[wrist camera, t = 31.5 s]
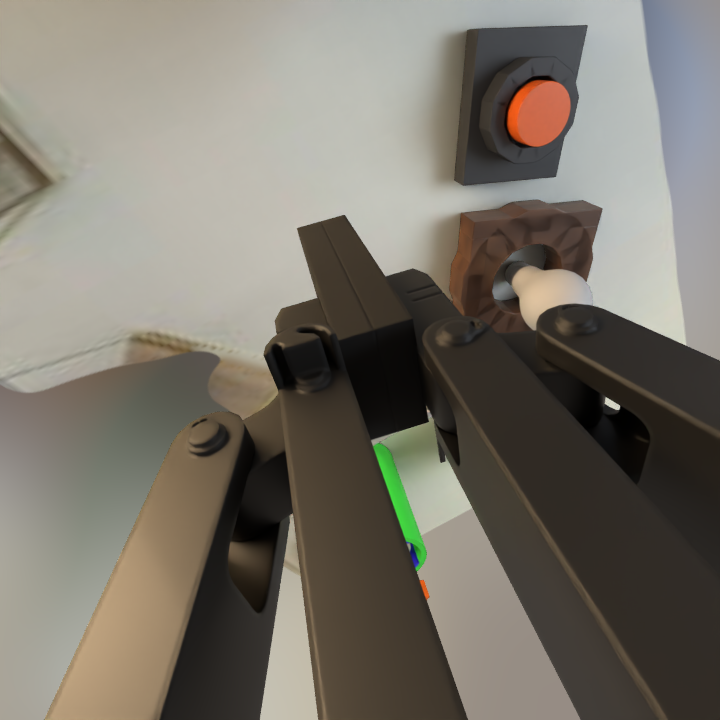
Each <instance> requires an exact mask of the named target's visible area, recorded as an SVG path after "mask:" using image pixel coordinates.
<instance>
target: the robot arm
mask: <svg viewBox="0 0 720 720" xmlns="http://www.w3.org/2000/svg"><path fill="white" fill-rule="evenodd" d="M297 230H298V234H299V237H300V240H301V244H302V247H303V251H304V254H305V257H306V261H307V264H308V267H309V271H310V274H311V278H312V281H313V284H314V288H315V291H316V294H317V298H316V299H313V300H309V301H306V302H302V303H299V304H296V305H292V306H289V307H285V308H282V309H281V310H280V312H279V314H278V316H277V318H276V320H275V325H276V332H277V335H276V336H275V337H273V338H272V339H271V340H270V342H269V343H268V344H267V345H266V347H265V351H264V357H265V360H266V362H267V364H268V367H269V369H270V372H271V374H272V376H273V379H274V381H275V384H276V386H277V388H278V393H279V394H278V395H277V396H276V398H275V399H274V400H273V401H272V402H271V403H270V404H269V405H268V406H266V407H265V408H263V409H262V410H260V411H259V412H257V413H255V414H253V415H252V416H250V417H248V418H246V419H245V420H242V419H241V417H240V416H239V415H237V414H234V413H232V412H215V413H211V414H208V415H204V416H202V417H200V418H199V419H197V420H195V421H193V422H191V423H190V424H189V425H187V426H186V427H185V428H184V429H183V430H182V431H180V432H179V434H178V435H177V436H176V438H175V440H174V441H173V442H172V444H171V446H170V448H169V450H168V453H167V455H166V457H165V459H164V461H163V463H162V466H161V468H160V470H159V472H158V474H157V477H156V479H155V481H154V483H153V485H152V487H151V489H150V492H149V494H148V496H147V498H146V500H145V502H144V505H143V507H142V509H141V511H140V513H139V516H138V518H137V520H136V522H135V524H134V526H133V528H132V531H131V533H130V535H129V537H128V539H127V541H126V544H125V546H124V548H123V550H122V552H121V554H120V557H119V559H118V561H117V563H116V565H115V568H114V570H113V572H112V574H111V576H110V578H109V580H108V583H107V585H106V587H105V589H104V592H103V593H102V596H101V598H100V600H99V602H98V604H97V607H96V609H95V611H94V613H93V615H92V617H91V619H90V622H89V624H88V626H87V628H86V630H85V633H84V635H83V637H82V639H81V641H80V643H79V646H78V648H77V650H76V652H75V654H74V657H73V659H72V661H71V663H70V665H69V667H68V670H67V672H66V674H65V676H64V678H63V680H62V682H61V685H60V687H59V689H58V691H57V693H56V695H55V698H54V700H53V702H52V704H51V706H50V708H49V711H48V713H47V715H46V717H45V719H44V720H260V713H261V707H262V700H263V694H264V688H265V680H266V675H267V668H268V661H269V655H270V648H271V642H272V635H273V628H274V622H275V615H276V609H277V602H278V596H279V589H280V583H281V576H282V570H283V563H284V557H285V550H286V544H287V537H288V530H289V524H290V517H289V515H291V514H292V513H293V516H294V524H295V532H296V541H297V549H298V557H299V565H300V573H301V581H302V590H303V597H304V606H305V614H306V622H307V630H308V639H309V647H310V655H311V663H312V672H313V680H314V688H315V696H316V704H317V713H318V720H468V719H467V716H466V713H465V710H464V707H463V704H462V701H461V699H460V696H459V693H458V690H457V687H456V684H455V681H454V678H453V675H452V672H451V670H450V667H449V664H448V661H447V658H446V655H445V652H444V650H443V646H442V644H441V641H440V638H439V635H438V632H437V629H436V626H435V623H434V620H433V618H432V615H431V612H430V609H429V606H428V603H427V600H426V597H425V595H424V592H423V589H422V586H421V583H420V580H419V577H418V574H417V571H416V569H415V566H414V563H413V560H412V557H411V554H410V551H409V548H408V546H407V543H406V540H405V537H404V534H403V531H402V528H401V525H400V522H399V520H398V517H397V514H396V511H395V508H394V505H393V502H392V499H391V497H390V494H389V491H388V488H387V485H386V482H385V479H384V476H383V473H382V471H381V468H380V465H379V462H378V459H377V456H376V453H375V450H374V448H373V445H372V442H371V440H373V439H376V438H380V437H383V436H386V435H389V434H392V433H395V432H399V431H402V430H405V429H408V428H411V427H414V426H418V425H421V424H424V423H427V422H429V420H428V413H427V408H428V410H429V412H430V413H431V415H432V417H433V419H434V424H435V431H436V438H437V445H438V452H439V457H440V462H441V463H442V462H445V455H446V457H447V459H448V461H449V463H450V465H451V467H452V469H453V471H454V473H455V475H456V477H457V479H458V481H459V482H460V484H461V486H462V488H463V490H464V492H465V494H466V496H467V498H468V500H469V502H470V504H471V506H472V508H473V510H474V511H475V514H476V516H477V517H478V520H479V522H480V523H481V525H482V527H483V529H484V531H485V533H486V535H487V537H488V539H489V541H490V543H491V545H492V547H493V549H494V551H495V553H496V554H497V557H498V558H499V561H500V563H501V565H502V566H503V568H504V570H505V572H506V574H507V576H508V578H509V580H510V582H511V584H512V586H513V587H514V590H515V592H516V594H517V596H518V598H519V600H520V602H521V604H522V606H523V608H524V610H525V611H526V613H527V615H528V617H529V619H530V621H531V623H532V625H533V627H534V629H535V631H536V633H537V635H538V637H539V639H540V641H541V643H542V645H543V647H544V649H545V651H546V652H547V654H548V656H549V658H550V660H551V662H552V664H553V666H554V668H555V670H556V672H557V674H558V676H559V678H560V680H561V682H562V684H563V686H564V688H565V690H566V691H567V693H568V695H569V697H570V699H571V701H572V703H573V705H574V707H575V709H576V711H577V713H578V715H579V717H580V719H581V720H720V361H719V360H717V359H715V358H712V357H710V356H708V355H706V354H703V353H701V352H699V351H697V350H694V349H692V348H690V347H688V346H685V345H683V344H681V343H679V342H676V341H674V340H672V339H670V338H667V337H665V336H663V335H661V334H658V333H656V332H654V331H652V330H649V329H647V328H645V327H643V326H640V325H638V324H636V323H634V322H631V321H629V320H627V319H625V318H622V317H620V316H618V315H616V314H613V313H611V312H609V311H607V310H604V309H602V308H598V307H595V306H592V305H586V304H577V303H573V304H564V305H558V306H555V307H552V308H549V309H547V310H546V311H544V312H543V313H542V314H540V315H539V317H538V320H537V322H536V330H533V331H523V332H512V333H497V332H495V331H494V330H493V328H492V327H491V326H490V325H489V324H487V323H486V322H484V321H483V320H481V319H478V318H474V317H470V316H463V315H462V314H461V313H460V312H459V311H458V309H457V308H456V307H455V306H454V305H453V304H452V302H451V301H450V300H449V299H448V298H447V297H446V295H445V294H444V293H442V291H441V290H440V288H439V287H438V286H437V285H436V284H435V283H434V281H433V280H432V279H431V278H430V277H429V276H428V274H425V273H423V272H420V271H418V270H415V269H410V270H406V271H403V272H400V273H396V274H393V275H389V276H386V277H385V275H384V274H383V272H382V271H381V269H380V268H379V266H378V265H377V263H376V262H375V260H374V259H373V257H372V256H371V254H370V253H369V251H368V250H367V248H366V247H365V245H364V244H363V242H362V241H361V239H360V238H359V236H358V235H357V233H356V231H355V230H354V228H353V227H352V225H351V224H350V222H349V221H348V219H347V218H346V216H345V215H342V216H339V217H335V218H332V219H328V220H324V221H321V222H317V223H314V224H310V225H307V226H303V227H300V228H297ZM606 397H607V398H609V399H610V400H612V401H614V402H615V403H617V404H619V405H620V410H615V409H613V408H611V407H609V406H607V405H606V404H604V403H605V398H606ZM426 406H427V407H426Z"/></svg>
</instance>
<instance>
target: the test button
mask: <svg viewBox="0 0 720 720" xmlns="http://www.w3.org/2000/svg"><path fill="white" fill-rule="evenodd" d="M569 114H570V97H569V94H568V92H567V90H566V89H565V87H564V86H563V85H562V84H560V83H558V82H555V81H546V80H534V81H531V82H529V83H527V84H525V85H524V86H522V87H521V88H520V89H519V90H518V91H517V92H516V93H515V95H514V96H513V98H512V100H511V102H510V104H509V106H508V110H507V114H506V125H507V129H508V132H509V134H510V136H511V137H512V138H513V139H514V140H515V141H517V142H519V143H522V144H525V145H529V146H532V147H540V146H544V145H546V144H548V143H550V142H552V141H553V140H554V139H555V138H556V137H557V136H558V135H559V134H560V133H561V132H562V130H563V129H564V127H565V125H566V123H567V121H568V118H569Z"/></svg>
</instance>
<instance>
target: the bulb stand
mask: <svg viewBox="0 0 720 720" xmlns="http://www.w3.org/2000/svg"><path fill="white" fill-rule="evenodd" d="M601 213H602V208H600V207H598V206H595V205H593V204H590V203H588V202H586V201H583V200H581V201H572V202H562V203H552V204H548V203H545V202H543V201H540V200H529V201H519V202H512V203H509V204H507V205H505V206H503V207H502V208H500V209H494V210H484V211H475V212H465V213H461V221H460V232H459V242H458V252H457V254H456V256H455V258H454V260H453V262H452V264H451V275H450V285H449V290H450V293H451V296H452V299H453V303H452V304H453V305H454V306H455V307H456V308H457V309H458V311H459V312H460V313H461V314H462V315H463V316H470V317H474V318H478V319H481V320H483V321H484V322H486V323H487V324H489V325H490V326H491V327H492V328H493V330H494V331H495V332H497V333H512V332H523V331H533V330H532V329H531V328H530V327H529V326H528V325H527V324H526V322H525V320H524V319H523V317H522V314H521V310H520V299H519V297H517V298H515V299H512V300H505V301H499V300H495V299H494V297H493V294H492V288H493V282H494V277H495V275H496V273H497V271H498V269H499V268H500V266H501V264H502V263H503V262H504V261H505V260H506V259H507V258H508V257H509V256H510V255H511V254H512V253H513V252H515V251H517V250H519V249H521V248H523V247H525V246H527V245H533V244H542V245H543V246H544V250H545V256H546V261H545V265H544V271H546V270H554V269H563V270H568V271H571V272H574V273H576V274H577V275H579V276H580V277H582V278H583V279H584V280H585V282H587V278H588V275H589V271H590V268H591V264H592V261H593V253H592V245H593V242H594V238H595V234H596V231H597V227H598V226H597V225H598V224H599V220H600V216H601Z"/></svg>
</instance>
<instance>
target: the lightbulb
mask: <svg viewBox="0 0 720 720" xmlns="http://www.w3.org/2000/svg"><path fill="white" fill-rule="evenodd" d="M505 278H506V280H507V282H508V283H509V284H510V285H511V286H512V288H513V290H514V292H515V293H516V294H517V295H518V296H519V299H520V310H521V314H522V317H523V319H524V320H525V322H526V324H527V325H528V326H529V327H530V328H531V329H532V330H536V322H537V320H538V317H539V315H540V314H542V313H543V312H544V311H546V310H547V309H549V308H552V307H555V306H558V305H564V304H573V303H577V304H586V305H592V306H593V297H592V292H591V290H590V287H589V285H588V284H587V283H586V282H585V280H584V279H583V278H582V277H580V276H579V275H577V274H576V273H574V272H571V271H568V270H563V269H554V270H546V271H544V270H541V269H539V268H537V267H535V266H530V265H528V264H527V263H524V262H522V261H516V262H514V263H512V264H511V265H510V266H509V267H508V268H507V270H506V273H505Z"/></svg>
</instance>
